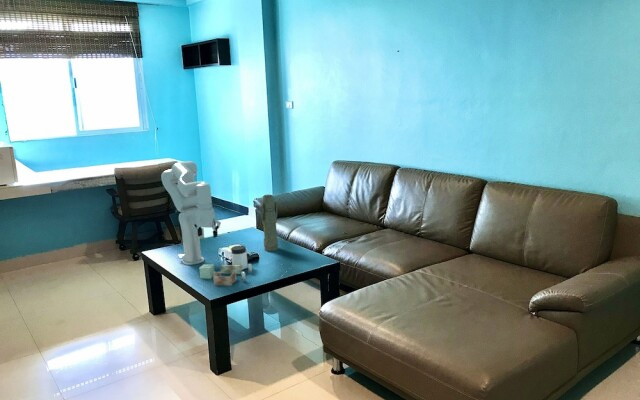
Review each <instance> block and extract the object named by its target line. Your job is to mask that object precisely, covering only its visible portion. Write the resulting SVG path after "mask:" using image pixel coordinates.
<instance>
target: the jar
mask: <svg viewBox="0 0 640 400" xmlns="http://www.w3.org/2000/svg"><path fill="white" fill-rule="evenodd" d="M230 250H231V252H230V253H231V262H232V263H231V265H242V271H243V270H245V269H248V256H247V255H248V253H247V248H246V246H245V245H235V246H232V247H231V249H230Z"/></svg>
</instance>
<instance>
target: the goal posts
mask: <svg viewBox="0 0 640 400" xmlns="http://www.w3.org/2000/svg"><path fill="white" fill-rule="evenodd" d="M247 265H248V268H247V269H248V274H249V275H250V274H253V266H252V263H247ZM240 275H241V282H242V283H245V282H246V281H247V280H246V279H247V278H246V272H245V271H242V272H241V274H240Z"/></svg>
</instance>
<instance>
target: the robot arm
mask: <svg viewBox="0 0 640 400" xmlns="http://www.w3.org/2000/svg"><path fill="white" fill-rule="evenodd" d="M197 174H198V165H197V164H196V163H195V162H194V161H192V160H188V161H181V162H176V163H174V164H173V165H172V166H171V169H167V170H164V171H163V172H162V173H161V176H160V177H161V182H162V185H163V187H164V189H165V190H166V191H167V192H168V194H169V196H170V197H171V200H172V202H173V204H174V206H175V209H176V210H177V211H178V212H180V213H179V215H178V222H179V224H180V229H181V235H182V236H181V237H182V243H183V245H182V246H183V254H178V258H179V259H181V260H182V264H183V265H185V266H186V265H187V266H193V265H198V264H202V263H203V262H204V261H205V258H204V257H203V256H202V252H201V240H200V237H202V236H203V229H202V228H205V229H206V228H208V229H209V228H212V236H213V238H214V239H215V238H217V237H218V230H219V229H220V226H221V223H222V222H221V221H219V220H217V218H216V214H215V210H214V208H213V201H212V200H213V199H212V191H211V185H210V183H207V182H206V181H204V180H200V181H194V179H195V176H196V175H197Z"/></svg>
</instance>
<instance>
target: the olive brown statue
mask: <svg viewBox="0 0 640 400" xmlns="http://www.w3.org/2000/svg"><path fill="white" fill-rule="evenodd" d="M259 210H260V211H259V213H260V214H259V215H260V221H261V222H262V225H263V235H264V236H263V237H264V238H263V247H264V251H265V252H270V253H271V252H276V251H278V250H279V238H278V236H277V235H278V233H277V218H278V204H277V202H276V201H275V198H274V196H273V194H264V195H263V196H262V198H261V204H260V206H259Z"/></svg>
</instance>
